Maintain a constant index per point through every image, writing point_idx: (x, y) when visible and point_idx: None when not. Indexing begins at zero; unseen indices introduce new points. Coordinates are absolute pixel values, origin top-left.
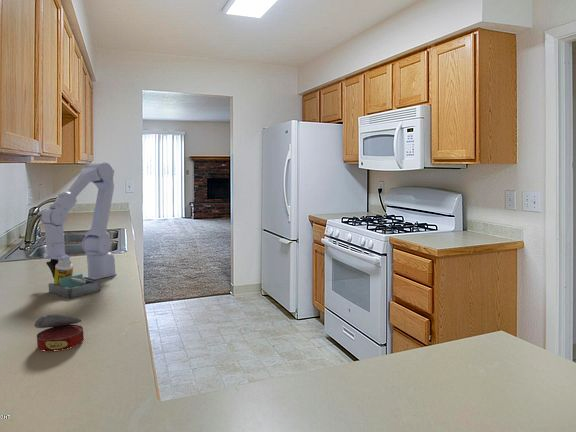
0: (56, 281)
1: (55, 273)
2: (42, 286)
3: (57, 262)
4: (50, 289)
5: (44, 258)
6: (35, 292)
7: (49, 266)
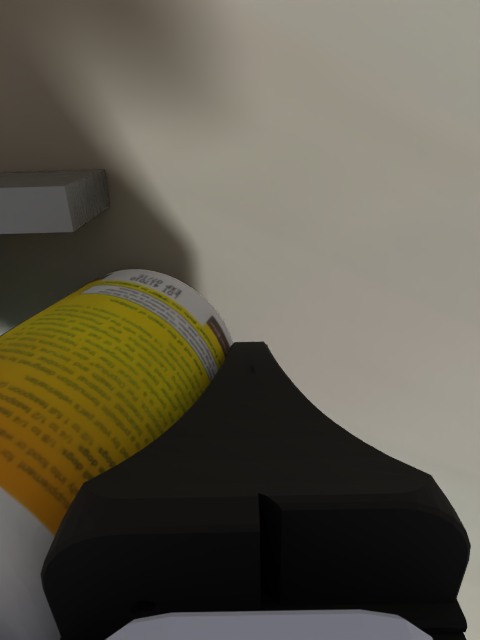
0: (67, 300)
1: (14, 360)
2: (457, 253)
3: (60, 622)
4: (47, 176)
5: (296, 626)
6: (251, 58)
7: (314, 450)
